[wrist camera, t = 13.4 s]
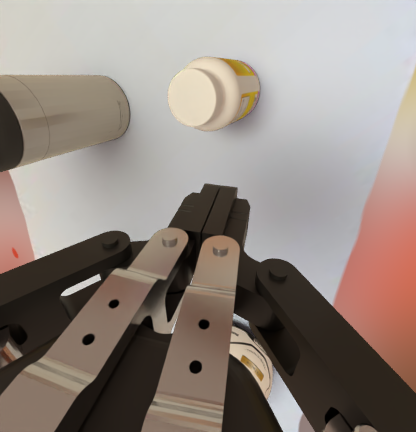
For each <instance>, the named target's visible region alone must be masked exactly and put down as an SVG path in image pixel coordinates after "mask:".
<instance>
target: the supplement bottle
mask: <svg viewBox="0 0 416 432" xmlns="http://www.w3.org/2000/svg"><path fill="white" fill-rule="evenodd" d="M259 93H260V84H259V80H258V77H257V75H256V73H255V71H254V70H253V69H252V68H251V67H250V66H249V65H248V64H246V63H244V62H242V61H238V60H231V59H223V58H216V57H201V58H198V59H196V60H194V61H192V62H190V63H189V64H188V65H187V66H186V67H185V68H184V69H183V70H182V71H180V72H179V73H177V74H176V75H175V76H174V78H173V79H172V81H171V83H170V85H169V89H168V103H169V107H170V110H171V112H172V114H173V115H174V116H175V118H176V119H177V120H178V121H179V122H181V123H182V124H184V125H186V126H190V127H194V128H196V129H199V130H202V131H215V130H218V129H221V128H223V127H225V126H227V125H229V124H231V123H233V122H235V121H237V120H239V119H241V118H243V117H245V116H246V115H248V114H249V113H250V112H251V111H252V110H253V108H254V107H255V105H256V104H257V101H258V98H259Z"/></svg>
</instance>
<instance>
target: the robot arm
mask: <svg viewBox="0 0 416 432" xmlns="http://www.w3.org/2000/svg"><path fill="white" fill-rule="evenodd" d="M129 116H130V114H129V106H128V102H127V99H126V97H125V95H124V93H123V91H122V90H121V88H120V87H119V86H118V85H117V84H116V83H115V82H114V81H113V80H111V79H110V78H108V77H106V76H101V75H0V172H3V171H6V170H10V169H13V168H17V167H20V166H24V165H27V164H31V163H34V162H37V161H40V160H44V159H47V158H51V157H54V156H58V155H61V154H65V153H68V152H71V151H75V150H78V149H82V148H85V147H89V146H92V145H96V144H99V143H103V142H106V141H110V140H113V139H116V138H119V137H120V136H122V135H123V134H124V132H125V131H126V129H127V127H128V124H129ZM249 212H250V205H249V203H248V201H247V200H245V199H238V198H237V187H229V186H221V185H213V184H204V186H203V188H202V190H201V192H200V193H191V194H190V195H188V196H187V197H185V199H184V200H183V202H182V204H181V206H180V207H179V209H178V211H177V212H176V214H175V216H174V217H173V219H172V221H171V223H170V224H169V226H168V228H165V229H161V230H159V231H157V232H156V233H155V234H154V235H153V236H152V237H151V239H150V240H148V241H136V242H130V238H129V236H128V235H127V234H126V233H124V232H122V231H109V232H105V233H102V234H100V235H97V236H95V237H92V238H90V239H87V240H85V241H82V242H80V243H77V244H75V245H72V246H70V247H67V248H65V249H62V250H60V251H57V252H55V253H52V254H50V255H47V256H45V257H42V258H40V259H37V260H35V261H32V262H30V263H27V264H25V265H22V266H19V267H17V268H14V269H12V270H9V271H7V272H5V273H2V274H0V432H283V431H282V429H281V427H280V425H279V423H278V421H277V419H276V417H275V415H274V413H273V411H272V409H271V407H270V405H269V403H268V401H267V400H266V398H265V396H264V394H263V392H262V390H261V388H260V386H259V384H258V382H257V381H256V379H255V378H254V376H253V375H252V373H251V372H250V371H249V370H248V368H247V367H246V366H245V365H244V364H243V363H242V362H241V361H240V360H238V359H237V358H236V357H234V356H233V355H232V354H230V353H229V351H230V341H231V331H232V322H233V313H235V314H237V315H238V316H240V317H242V318H244V319H245V320H247V321H249V326H250V328H251V330H252V332H253V333H254V335H255V337H256V338H257V340H258V341H259V343H260V345H261V346H262V348H263V349H264V351H265V352H266V354H267V356H268V357H269V359H270V360H271V362H272V364H273V365H274V367H275V368H276V370H277V372H278V373H279V375H280V376H281V378H282V380H283V381H284V383H285V384H286V386H287V388H288V389H289V391H290V392H291V394H292V396H293V397H294V399H295V400H296V402H297V404H298V405H299V407H300V408H301V410H302V411H303V413H304V415H305V416H306V418H307V419H308V421H309V423H310V424H311V426H312V427H313V429H314V431H315V432H416V393H415V392H414V391H413V390H412V389H411V388H410V387H409V386H408V385H407V384H406V383H405V382H404V381H403V380H402V379H401V377H400V376H399V375H398V374H397V373H396V372H395V371H394V370H393V369H392V368H391V367H390V366H389V365H388V364H387V363H386V362H385V361H384V360H383V359H382V358H381V357H380V355H379V354H378V353H377V352H376V351H375V350H374V349H373V348H372V347H371V346H370V345H369V344H368V343H367V342H366V341H365V340H364V339H363V338H362V337H361V336H360V335H359V334H358V333H357V331H356V330H355V329H354V328H353V327H352V326H351V325H350V324H349V323H348V322H347V321H346V320H345V319H344V318H343V317H342V316H341V315H340V314H339V313H338V312H337V311H336V310H335V308H334V307H333V306H332V305H331V304H330V303H329V302H328V301H327V300H326V299H325V298H324V297H323V296H322V295H321V294H320V293H319V292H318V291H317V290H316V289H315V288H314V287H313V285H312V284H311V283H310V282H309V281H308V280H307V279H306V278H305V277H304V276H303V275H302V274H301V273H300V272H299V271H298V270H297V269H296V268H295V267H294V266H293V265H292V264H290V263H289V262H287V261H284V260H281V259H267V260H264V261H262V262H261V263H260V262H258V261H256V260H254V259H252V258H250V257H249V256H248V255H247V254H246V253H245V251H244V245H245V240H246V235H247V229H248V221H249ZM97 274H100V277H101V280H100V281H98V282H96V283H94V284H91V285H89V286H87V287H85V288H83V289H81V290H79V291H77V292H75V293H73V294H71V295H68V296H61V294H62V292H63V291H65V290H66V289H68V288H70V287H72V286H74V285H76V284H78V283H80V282H83V281H85V280H87V279H89V278H91V277H93V276H95V275H97ZM193 275H194V276H193ZM192 278H193V280H192ZM191 280H192V283H191ZM190 283H191V285H190ZM177 317H178V318H177ZM176 319H177V321H176ZM175 321H176V325H175V328H174V332H173V334H171V330H172V328H173V325H174V323H175Z"/></svg>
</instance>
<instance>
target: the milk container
mask: <svg viewBox="0 0 416 432" xmlns="http://www.w3.org/2000/svg"><path fill="white" fill-rule="evenodd" d="M229 353H230V354H232V355H233V356H234V357H236V358H237V359H238V360H240V361H241V362H242V363H243V364H244V365H245V366H246V367H247V368H248V370H249V371H250V372H251V373H252V375H253V376H254V378H255V379H256V381H257V382H258V384H259V386H260V388H261V390H262V392H263V394H264V396H265V398H266V400H267V399H268V397H269V394H270V391H271V387H272V378H273V370H272V363H271V360H270V359H269V357H268V356H267V354H266V352H265V351H264V349H263V348H262V346H261V345H260V343H259V341H258V340H257V339H256V338H255V337H254V336H252V335H251V334H249V333H248V332H246V331H244V330H242V329H241V328H239V327H236V326H233V325H232V331H231V341H230V351H229Z"/></svg>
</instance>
